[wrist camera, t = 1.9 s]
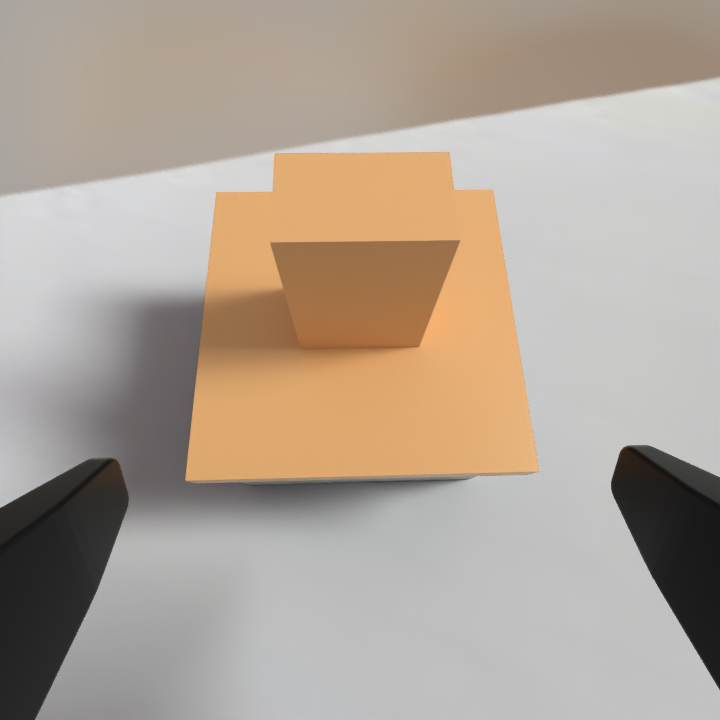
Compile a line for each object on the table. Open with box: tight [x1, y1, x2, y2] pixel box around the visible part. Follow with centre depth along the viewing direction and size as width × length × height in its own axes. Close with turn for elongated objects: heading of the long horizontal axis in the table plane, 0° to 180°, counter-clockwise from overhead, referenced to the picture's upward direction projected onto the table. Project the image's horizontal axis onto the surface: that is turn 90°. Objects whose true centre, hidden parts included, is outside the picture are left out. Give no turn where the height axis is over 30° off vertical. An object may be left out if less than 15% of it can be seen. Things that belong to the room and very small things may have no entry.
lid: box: [185, 152, 539, 483], centre depth 13 cm, size 11×11×8 cm
